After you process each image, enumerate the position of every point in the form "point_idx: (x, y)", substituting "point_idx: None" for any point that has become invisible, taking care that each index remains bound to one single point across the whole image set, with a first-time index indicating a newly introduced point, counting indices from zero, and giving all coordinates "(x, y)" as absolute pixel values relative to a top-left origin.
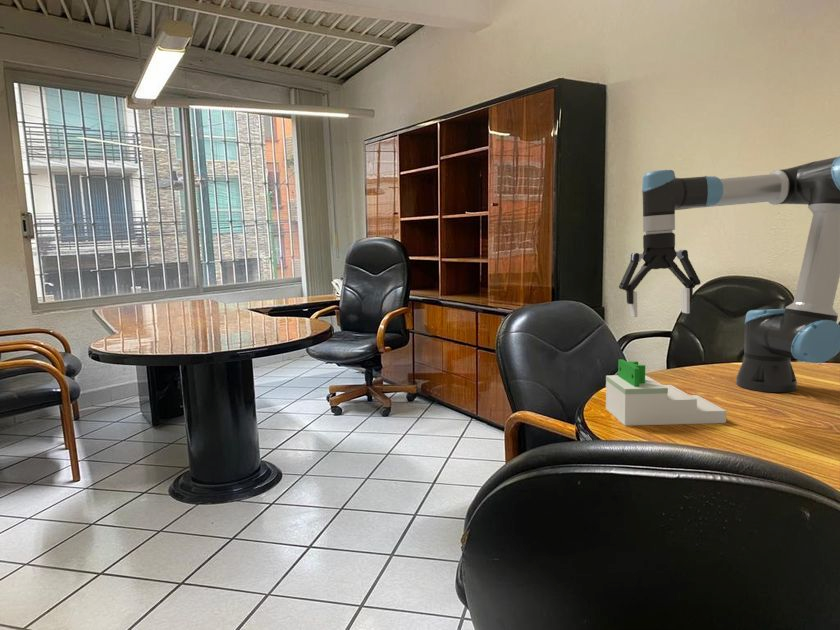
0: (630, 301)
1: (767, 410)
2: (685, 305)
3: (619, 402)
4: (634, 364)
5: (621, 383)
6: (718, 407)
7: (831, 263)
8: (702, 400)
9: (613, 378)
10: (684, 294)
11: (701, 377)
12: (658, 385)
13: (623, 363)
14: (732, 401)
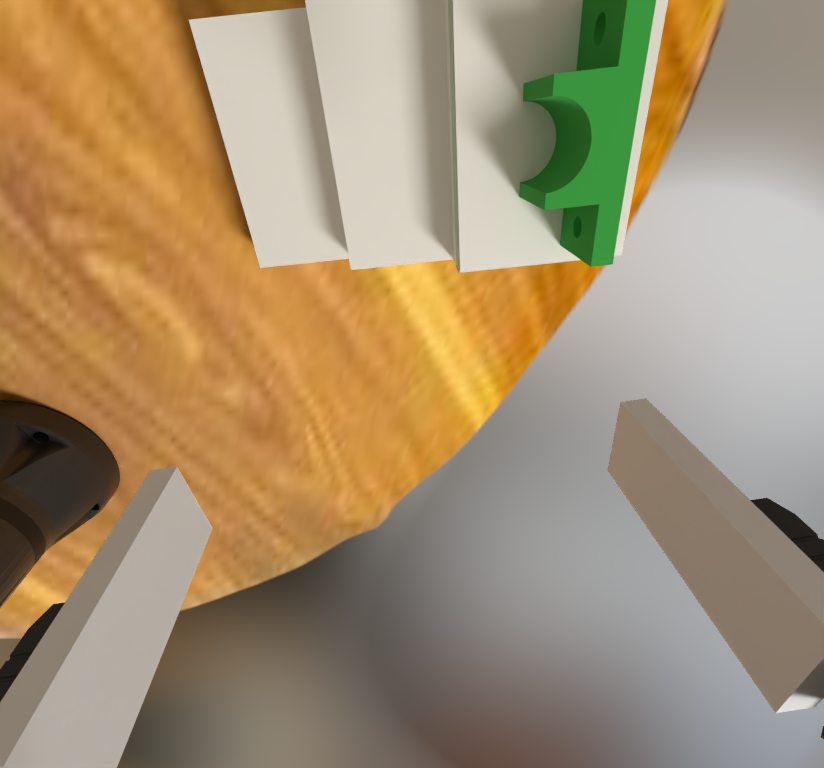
0: (781, 521)
1: (45, 209)
2: (155, 540)
3: None
4: (598, 117)
5: None
6: (212, 81)
7: None
8: (255, 193)
9: None
10: (102, 678)
11: None
12: (477, 25)
13: (622, 185)
14: (150, 312)
